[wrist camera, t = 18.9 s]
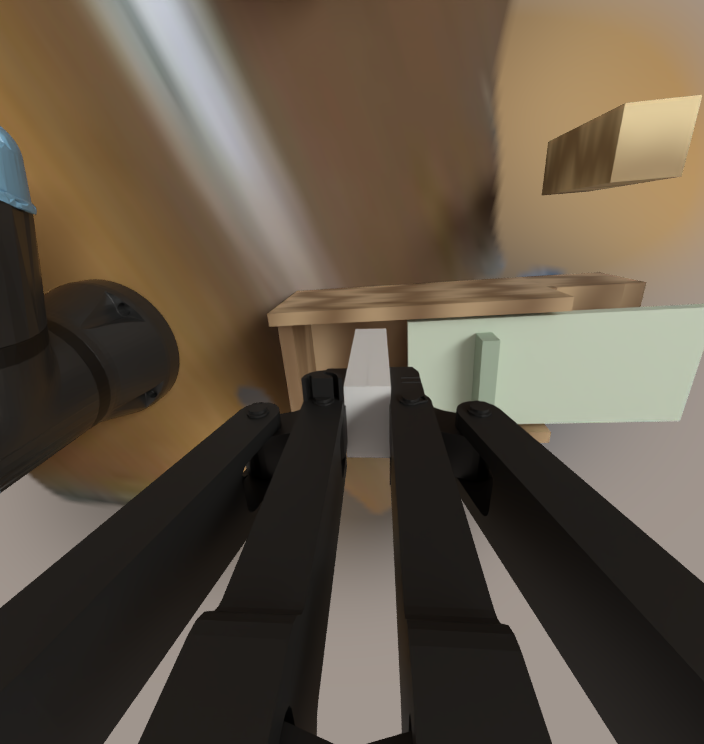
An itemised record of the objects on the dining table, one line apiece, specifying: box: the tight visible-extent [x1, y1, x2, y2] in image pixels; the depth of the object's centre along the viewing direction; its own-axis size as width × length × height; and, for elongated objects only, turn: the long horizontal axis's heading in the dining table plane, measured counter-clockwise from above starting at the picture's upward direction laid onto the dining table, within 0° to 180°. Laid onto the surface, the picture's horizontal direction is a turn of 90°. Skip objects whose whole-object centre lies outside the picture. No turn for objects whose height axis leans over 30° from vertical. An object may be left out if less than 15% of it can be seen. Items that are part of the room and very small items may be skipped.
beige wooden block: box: [542, 95, 702, 195], centre depth 25 cm, size 4×4×10 cm
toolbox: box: [267, 272, 646, 443], centre depth 32 cm, size 29×12×10 cm, turn 94°
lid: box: [407, 304, 704, 424], centre depth 27 cm, size 21×9×3 cm, turn 94°
